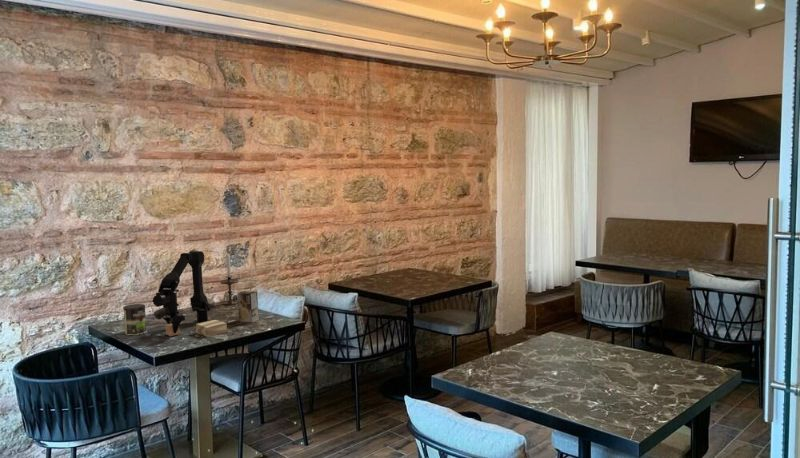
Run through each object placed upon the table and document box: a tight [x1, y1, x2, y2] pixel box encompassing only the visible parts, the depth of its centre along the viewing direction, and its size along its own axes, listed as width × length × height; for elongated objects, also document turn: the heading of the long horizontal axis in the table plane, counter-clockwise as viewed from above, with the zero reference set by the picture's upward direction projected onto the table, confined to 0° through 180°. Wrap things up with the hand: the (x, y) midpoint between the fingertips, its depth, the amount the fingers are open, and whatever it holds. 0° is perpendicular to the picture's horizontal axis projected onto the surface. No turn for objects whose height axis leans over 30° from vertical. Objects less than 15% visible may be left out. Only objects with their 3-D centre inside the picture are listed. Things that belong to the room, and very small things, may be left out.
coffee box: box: [237, 290, 260, 323], centre depth 318 cm, size 9×6×16 cm
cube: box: [165, 323, 181, 337], centre depth 293 cm, size 5×5×5 cm
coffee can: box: [123, 303, 148, 336], centre depth 297 cm, size 10×10×14 cm
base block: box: [195, 319, 228, 338], centre depth 297 cm, size 11×11×5 cm
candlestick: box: [219, 248, 239, 306], centre depth 358 cm, size 11×11×35 cm
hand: (172, 332), depth 293 cm, fingers closed on cube, 5 cm apart
